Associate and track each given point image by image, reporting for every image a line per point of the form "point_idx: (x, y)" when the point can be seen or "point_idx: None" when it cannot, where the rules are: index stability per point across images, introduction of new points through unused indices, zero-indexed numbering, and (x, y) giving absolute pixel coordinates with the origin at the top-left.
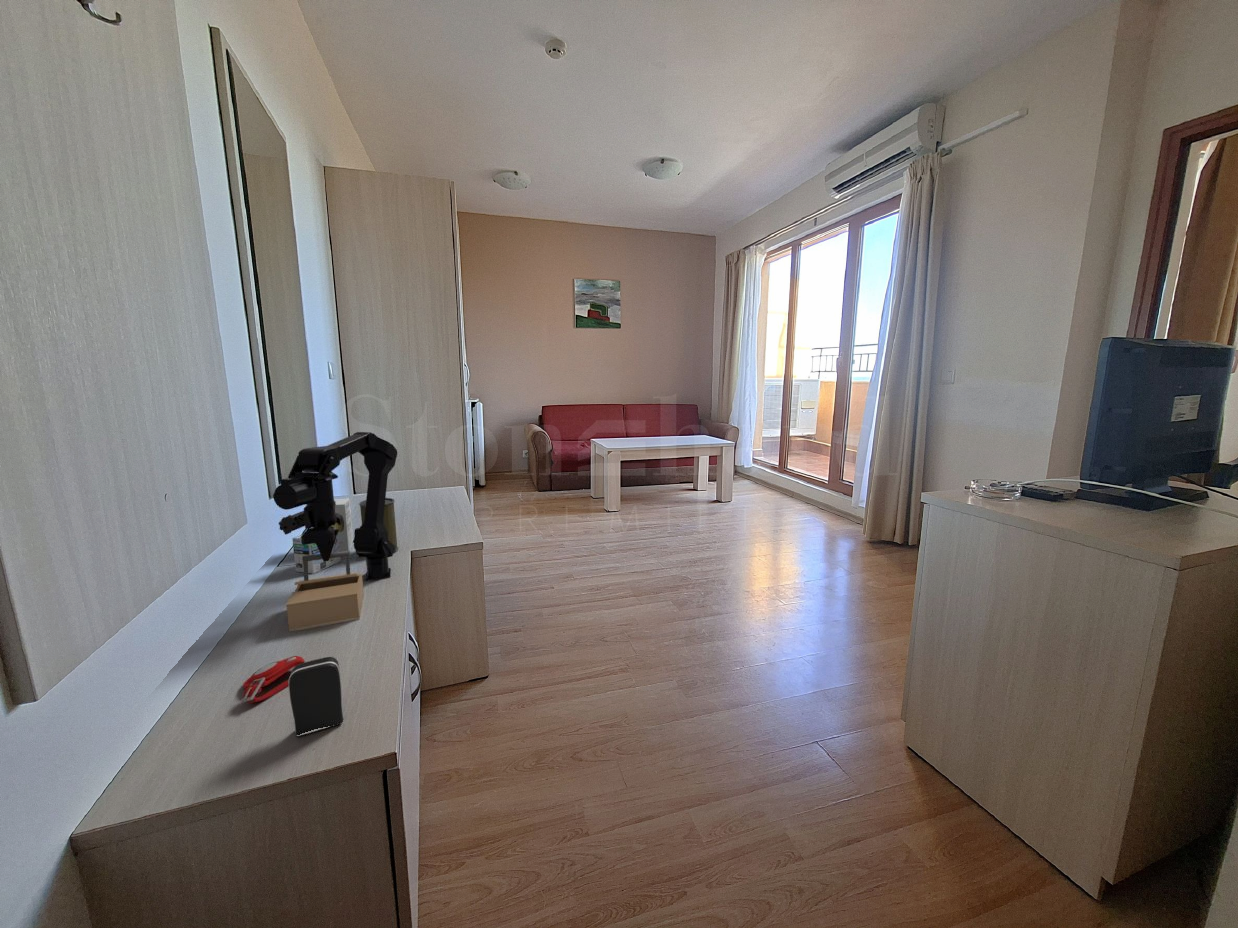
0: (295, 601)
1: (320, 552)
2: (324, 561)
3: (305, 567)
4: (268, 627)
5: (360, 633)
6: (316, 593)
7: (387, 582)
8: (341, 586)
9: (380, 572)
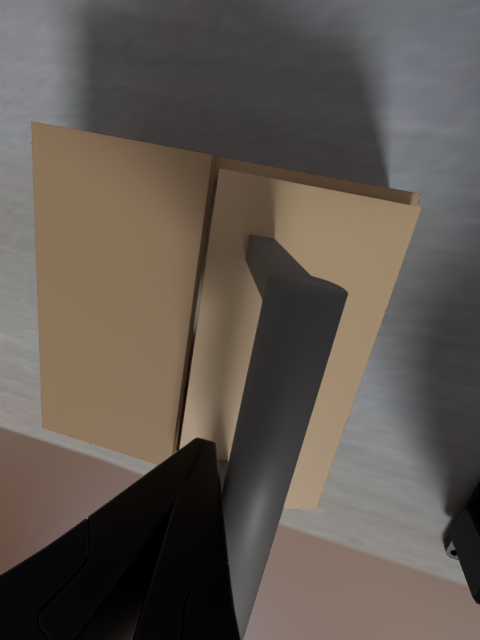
0: (57, 171)
1: (115, 500)
2: (198, 439)
3: (262, 274)
4: (212, 46)
5: (19, 350)
6: (121, 281)
7: (392, 522)
8: (158, 397)
9: (460, 550)
